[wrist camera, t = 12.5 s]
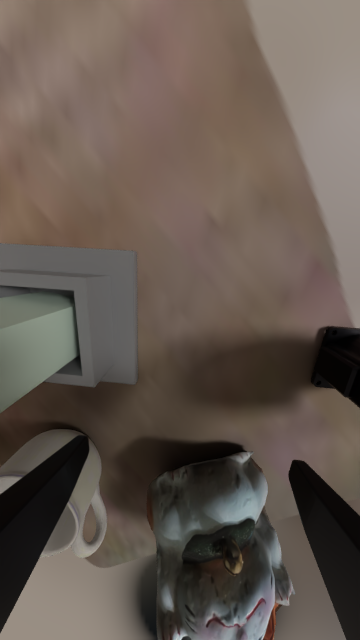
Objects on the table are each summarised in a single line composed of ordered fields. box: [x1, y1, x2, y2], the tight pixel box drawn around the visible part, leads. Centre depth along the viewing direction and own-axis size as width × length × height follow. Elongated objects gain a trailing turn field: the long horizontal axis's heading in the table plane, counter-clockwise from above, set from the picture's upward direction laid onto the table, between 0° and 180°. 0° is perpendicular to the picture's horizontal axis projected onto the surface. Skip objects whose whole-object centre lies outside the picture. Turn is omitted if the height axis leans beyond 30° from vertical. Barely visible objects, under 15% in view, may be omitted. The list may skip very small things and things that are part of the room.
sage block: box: [0, 291, 80, 413], centre depth 13 cm, size 5×5×13 cm
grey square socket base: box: [0, 243, 138, 387], centre depth 18 cm, size 14×14×5 cm
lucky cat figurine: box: [147, 452, 295, 640], centre depth 19 cm, size 15×12×14 cm
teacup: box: [0, 429, 107, 558], centre depth 22 cm, size 14×11×8 cm
